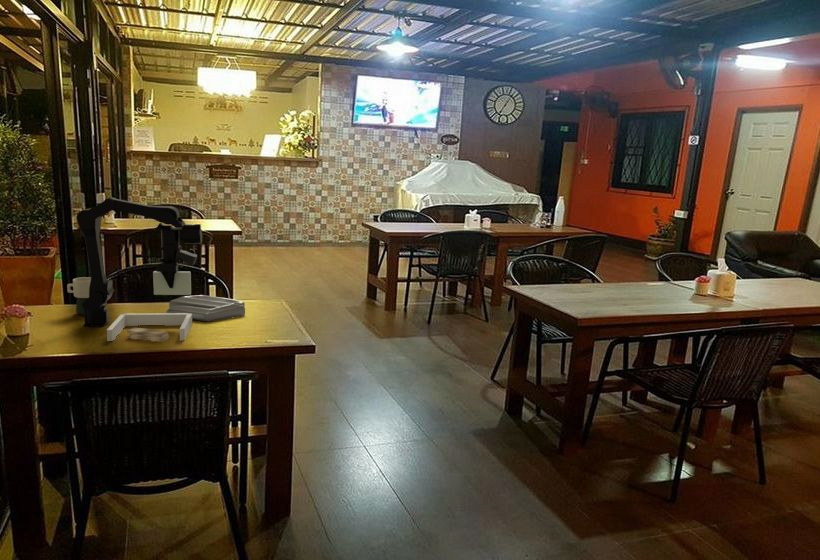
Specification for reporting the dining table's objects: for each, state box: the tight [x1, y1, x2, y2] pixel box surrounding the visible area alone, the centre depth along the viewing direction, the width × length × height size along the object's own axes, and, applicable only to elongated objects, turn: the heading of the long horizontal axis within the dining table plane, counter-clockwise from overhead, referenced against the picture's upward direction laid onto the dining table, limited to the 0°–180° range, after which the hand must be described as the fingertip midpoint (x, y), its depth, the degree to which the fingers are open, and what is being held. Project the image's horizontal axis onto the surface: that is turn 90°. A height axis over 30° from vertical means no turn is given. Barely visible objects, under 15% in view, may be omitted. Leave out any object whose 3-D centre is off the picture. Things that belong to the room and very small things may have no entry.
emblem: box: [166, 294, 246, 323], centre depth 224 cm, size 28×5×28 cm
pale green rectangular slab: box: [152, 270, 192, 296], centre depth 205 cm, size 12×2×8 cm, turn 102°
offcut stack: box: [126, 326, 170, 343], centre depth 190 cm, size 12×4×3 cm, turn 81°
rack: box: [106, 312, 193, 342], centre depth 196 cm, size 23×20×4 cm
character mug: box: [66, 276, 91, 315], centre depth 212 cm, size 11×7×13 cm, turn 107°
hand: (171, 287), depth 205 cm, fingers closed on pale green rectangular slab, 2 cm apart
